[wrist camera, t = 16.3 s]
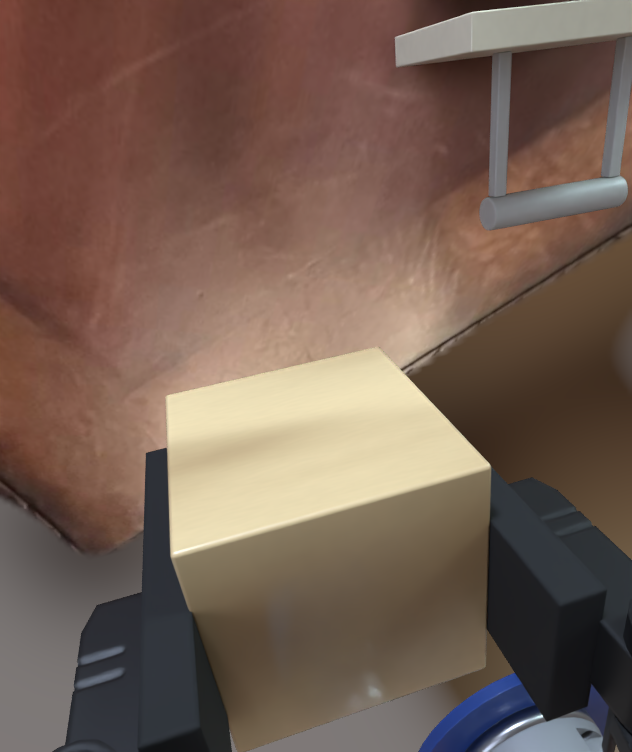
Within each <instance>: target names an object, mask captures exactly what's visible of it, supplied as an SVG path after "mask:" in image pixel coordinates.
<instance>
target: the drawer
mask: <svg viewBox="0 0 632 752" xmlns="http://www.w3.org/2000/svg"><path fill="white" fill-rule="evenodd" d="M615 40H616V49H615V58H614V66H613V75H612V84H611V92H610V101H609V110H608V118H607V127H606V136H605V144H604V153H603V162H602V170H601V176H602V177H601V178H595V179H590V180H584V181H578V182H573V183H567V184H561V185H555V186H550V187H544V188H538V189H532V190H527V191H521V192H515V193H510V194H506V184H507V160H508V136H509V112H510V87H511V63H512V53H518V52H526V51H534V50H542V49H550V48H558V47H566V46H574V45H583V44H591V43H599V42H607V41H615ZM395 53H396V67H397V68H398V67H406V66H414V65H422V64H430V63H438V62H446V61H454V60H462V59H470V58H478V57H486V56H492V89H491V125H490V162H489V196H492V197H487V198H485V199H484V200H483V201H482V202H481V205H480V211H479V214H480V220H481V223H482V225H483V227H484V228H485V229H486V230H496V229H501V228H506V227H512V226H517V225H522V224H528V223H533V222H538V221H544V220H549V219H554V218H560V217H565V216H571V215H576V214H581V213H587V212H592V211H597V210H603V209H608V208H613V207H618V206H620V205H621V204H623V202H624V201H625V199H626V197H627V194H628V186H627V183H626V181H625V179H624V178H623V177H622V176H619V175H620V168H621V160H622V153H623V145H624V137H625V130H626V122H627V114H628V107H629V99H630V91H631V84H632V0H577V1H568V2H559V3H550V4H540V5H531V6H522V7H513V8H503V9H494V10H485V11H476V12H470V13H467V14H464V15H461V16H458V17H455V18H452V19H449V20H446V21H443V22H440V23H437V24H434V25H431V26H428V27H425V28H422V29H419V30H416V31H413V32H410V33H407V34H403V35H400V36H397V37H395Z"/></svg>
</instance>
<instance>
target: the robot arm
mask: <svg viewBox="0 0 632 752" xmlns="http://www.w3.org/2000/svg"><path fill="white" fill-rule="evenodd" d="M487 630H488V631H489V633H490V634H491V636H492V637H493V639H494V641H495V642H496V644H497V645H498V647H499V649H500V650H501V651H502V653H503V655H504V656H505V658H506V660H507V661H508V663H509V664H510V666H511V667H512V669H513V670H514V672H515V674H516V675H517V677H518V678H519V680H520V681H521V683H522V684H523V686H524V688H525V689H526V691H527V692H528V694H529V695H530V697H531V699H532V700H533V702H534V703H535V705H533V706H530V707H527V708H524V709H522V710H519V711H517V712H515V713H513V714H511V715H509V716H507V717H505V718H504V719H502V720H500V721H499V722H497V723H495V724H494V725H493V726H491V727H490V728H488V729H487V730H486V731H485V732H483V733H482V734H481V735H480V736H479V737H478V738H476V739H475V740H474V741H473V742H472V744H471V745H470V746H469V747H468V748H467V749H466V751H465V752H614V750H615V746H616V745H617V747H618V750H619V752H632V560H631V559H630V558H629V557H628V556H627V555H626V554H625V553H623V552H622V551H621V550H620V549H619V548H618V547H617V546H616V545H615V544H614V543H613V542H612V541H611V540H610V539H609V538H608V537H607V536H605V535H604V534H603V533H602V532H601V531H600V530H599V529H598V528H597V527H596V526H592V524H591V521H590V520H588V519H587V518H586V517H585V516H584V515H583V514H582V513H581V512H580V511H577V510H576V508H575V506H574V505H573V504H571V503H570V502H569V501H568V500H567V499H566V498H565V497H564V496H563V495H562V494H561V493H560V492H559V491H558V490H556V489H554V488H552V487H550V486H548V485H546V484H544V483H542V482H540V481H538V480H536V479H534V478H528V479H525V480H521V481H518V482H514V483H511V484H507V483H506V482H505V481H504V480H503V479H502V478H501V477H500V476H499V475H498V473H497V472H496V471H495V470H494V469H493V468H492V467H491V496H490V532H489V568H488V604H487ZM591 684H592V685H593V687H594V688H595V689H596V691H597V692H598V693H599V694H600V696H601V697H602V698H603V700H604V701H605V702H606V704H607V705H608V706H609V709H608V715H607V720H606V725H605V730H604V735H603V736H602V734H601V732H600V730H599V728H598V726H597V725H596V724H595V722H594V721H593V719H592V718H591V717H590V715H589V714H588V713H587V711H586V710H585V709H584V708H585V707H588V702H589V696H590V690H591ZM74 688H75V691H74V692H73V695H72V702H71V709H70V715H69V722H68V730H67V736H66V743H65V745H64V746H61V747H59V748H57V749H56V750H54V751H53V752H232V750H231V740H230V732H229V723H228V717H227V714H226V711H225V708H224V705H223V702H222V699H221V696H220V693H219V690H218V688H217V685H216V682H215V679H214V676H213V673H212V670H211V667H210V664H209V661H208V658H207V655H206V652H205V649H204V646H203V643H202V640H201V637H200V634H199V631H198V629H197V626H196V623H195V620H194V617H193V614H192V612H191V611H189V609H188V607H187V604H186V601H185V598H184V595H183V592H182V589H181V586H180V583H179V580H178V577H177V575H176V572H175V569H174V566H173V563H172V560H171V557H170V530H169V498H168V467H167V448H164V449H160V450H156V451H152V452H148V453H146V472H145V505H144V539H143V572H142V592H141V593H137V594H134V595H130V596H127V597H123V598H121V599H117V600H113V601H110V602H107V603H103V604H100V605H97V606H96V608H95V610H94V611H93V613H92V615H91V617H90V618H89V620H88V622H87V624H86V626H85V628H84V629H83V631H82V633H81V639H80V647H79V654H78V667H77V668H76V674H75V681H74Z"/></svg>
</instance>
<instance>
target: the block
mask: <svg viewBox="0 0 632 752" xmlns="http://www.w3.org/2000/svg"><path fill="white" fill-rule="evenodd" d="M165 403H166V435H167V467H168V498H169V530H170V557H171V560H172V563H173V566H174V569H175V572H176V575H177V577H178V580H179V583H180V586H181V589H182V592H183V595H184V598H185V601H186V604H187V607H188V609H189V611H191V612H192V614H193V617H194V620H195V623H196V626H197V629H198V631H199V634H200V637H201V640H202V643H203V646H204V649H205V652H206V655H207V658H208V661H209V664H210V667H211V670H212V673H213V676H214V679H215V682H216V685H217V688H218V690H219V693H220V696H221V699H222V702H223V705H224V708H225V711H226V714H227V717H228V723H229V730H230V732H231V735H232V738H233V741H234V744H235V747H236V750H237V751H238V752H246V751H249V750H252V749H254V748H257V747H260V746H263V745H266V744H269V743H271V742H274V741H277V740H280V739H283V738H286V737H288V736H292V735H294V734H297V733H300V732H303V731H306V730H309V729H312V728H314V727H317V726H320V725H323V724H326V723H329V722H331V721H334V720H337V719H340V718H343V717H346V716H349V715H352V714H354V713H357V712H360V711H363V710H366V709H369V708H372V707H374V706H377V705H380V704H383V703H386V702H389V701H392V700H394V699H397V698H400V697H403V696H406V695H409V694H412V693H414V692H417V691H420V690H423V689H426V688H429V687H432V686H434V685H437V684H440V683H443V682H446V681H449V680H452V679H454V678H457V677H460V676H463V675H466V674H469V673H471V672H474V671H477V670H480V669H483V668H484V667H485V666H486V640H487V639H486V638H487V637H486V636H487V604H488V568H489V532H490V496H491V466H490V464H489V463H488V462H487V461H486V460H485V459H484V458H483V457H482V455H481V454H479V452H478V451H477V450H476V449H475V448H474V447H473V446H472V445H471V444H470V443H469V442H468V441H467V440H466V438H465V437H464V436H463V435H462V434H461V433H460V432H459V431H458V430H457V429H456V428H455V427H454V426H453V425H452V424H451V423H450V422H449V420H448V419H447V418H446V417H445V416H444V415H443V414H442V413H441V412H440V411H439V410H438V409H437V408H436V407H435V406H434V405H433V404H432V402H430V400H429V399H428V398H427V397H426V396H425V395H424V394H423V393H422V392H421V391H420V390H419V389H418V388H417V387H416V386H415V385H414V383H413V382H412V381H410V379H409V378H408V377H407V376H406V375H405V374H404V373H403V372H402V371H401V370H400V369H399V368H398V367H397V365H396V364H395V363H394V362H393V361H392V360H391V359H390V358H389V357H388V356H387V355H386V354H385V353H384V352H383V351H382V350H381V349H380V347H374V348H370V349H366V350H361V351H357V352H353V353H348V354H344V355H340V356H335V357H331V358H327V359H322V360H318V361H314V362H309V363H305V364H301V365H296V366H292V367H288V368H283V369H279V370H275V371H270V372H266V373H262V374H257V375H253V376H249V377H244V378H240V379H236V380H231V381H227V382H223V383H219V384H214V385H210V386H206V387H201V388H197V389H193V390H188V391H184V392H180V393H175V394H171V395H168V396H166V399H165Z"/></svg>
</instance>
